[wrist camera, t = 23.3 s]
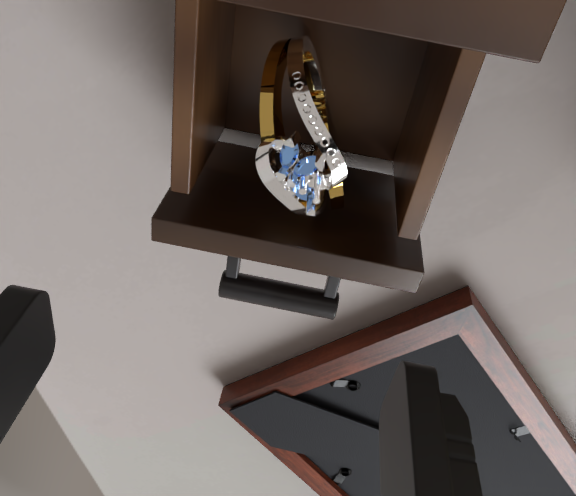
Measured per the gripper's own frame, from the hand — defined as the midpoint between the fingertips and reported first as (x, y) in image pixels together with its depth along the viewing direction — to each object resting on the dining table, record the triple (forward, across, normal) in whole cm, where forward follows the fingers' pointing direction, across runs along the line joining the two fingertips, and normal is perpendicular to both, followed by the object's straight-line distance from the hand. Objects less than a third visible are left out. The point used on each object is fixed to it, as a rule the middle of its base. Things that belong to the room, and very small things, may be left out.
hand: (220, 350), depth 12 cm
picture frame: (+18, -14, +26) cm, 35 cm away
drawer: (+17, -1, +1) cm, 17 cm away
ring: (+16, -1, 0) cm, 16 cm away
